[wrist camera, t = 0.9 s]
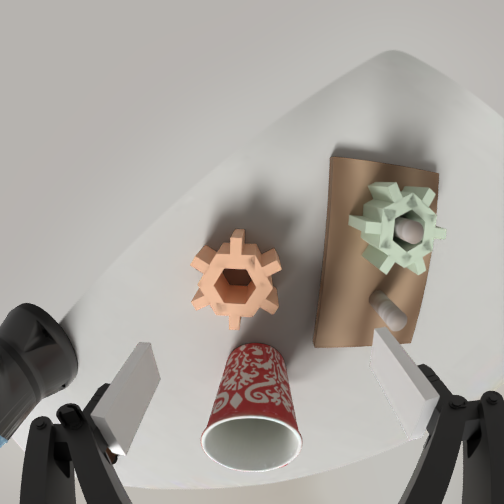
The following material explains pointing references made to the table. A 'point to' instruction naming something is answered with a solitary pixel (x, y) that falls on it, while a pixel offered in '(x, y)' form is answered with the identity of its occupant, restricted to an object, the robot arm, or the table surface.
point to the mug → (253, 413)
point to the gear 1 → (234, 296)
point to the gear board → (361, 270)
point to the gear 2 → (382, 226)
